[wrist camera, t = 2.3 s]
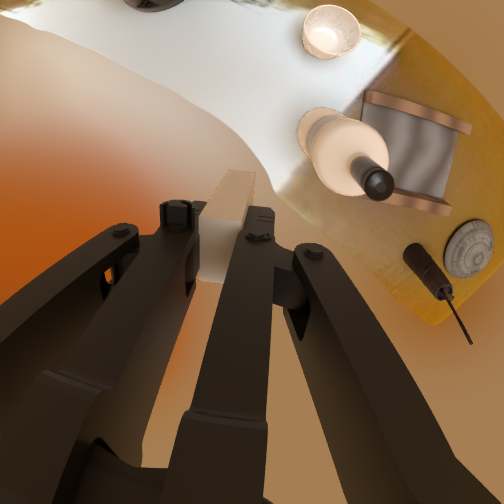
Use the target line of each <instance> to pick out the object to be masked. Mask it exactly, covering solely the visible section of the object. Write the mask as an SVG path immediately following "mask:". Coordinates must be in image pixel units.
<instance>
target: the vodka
mask: <svg viewBox="0 0 504 504" xmlns="http://www.w3.org/2000/svg"><path fill="white" fill-rule="evenodd" d="M297 138H298V142H299V144H300V147H301V148H302V150H303V151H304V152H305V153H306V154H307V155H308V157H309V158H310V160H311V161H312V164H313V167H314V169H315V171H316V173H317V176H318V177H319V179H320V180H321V182H322V183H323V184H324V185H325V186H326V187H327V188H329V189H330V190H332V191H334V192H335V193H338V194H341V195H346V196H360V195H363V194H366V195H367V196H368V197H369V198H370V199H371V200H373V201H379V202H380V201H384V200H386V199H388V198H389V197H390V196H391V195H392V193H393V191H394V188H395V182H394V179H393V176H392V175H391V174H390V173H389V172H388V171H387V170H388V165H389V154H388V150H387V146H386V143H385V141H384V140H383V138H382V136H381V135H380V134H379V133H378V131H377V130H376V129H374V128H373V127H372V126H370V125H369V124H366V123H364V122H361V121H358V120H355V119H351V118H348V117H346V116H344V115H342V114H341V113H340V112H338V111H336V110H333V109H330V108H317V109H314V110H311V111H310V112H308V113H307V114H306V115H305V116H304V117H303V118H302V119H301V121H300V123H299V125H298V129H297Z"/></svg>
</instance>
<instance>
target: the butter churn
mask: <svg viewBox="0 0 504 504" xmlns="http://www.w3.org/2000/svg"><path fill="white" fill-rule="evenodd" d="M403 259H404V261H405V263H406V264H407V265H408V266H409V267H410V268H411V270H412V271H413V272H414V273H415V274H416V275H417V276H418V277H419V279H420V280H421V281H422V282H423V284H424V285H425V286H426V287H427V288H428V289H429V291H430V292H431V293H432V294H433V296H434V297H435V298H436V299H438V300H439V301H442V300H446V301H447V302H448V304H449V306H450V308H451V309H452V311H453V313H454V315H455V316H456V318H457V320H458V322H459V324H460V326H461V328H462V330H463V332H464V334H465V336H466V338H467V340H468V342H469V344H470V345H472V344H473V342H472V340H471V339H470V336H469V334H468V333H467V331H466V329H465V327H464V325H463V323H462V321H461V320H460V318H459V317H458V315H457V313H456V311H455V309H454V307H453V306H452V304H451V302H450V301H452V300H453V299H454V296H453V295H452V294H453V287H452V284H451V283H450V282H449V280H448V279H447V277H446V276H445V275H444V273H443V272H442V270H441V269H440V268H439V267H438V265H437V264H436V263H435V262H434V260H433V259H432V257H431V256H430V255H429V254H428V253H427V252H426V250H425V249H424V248H423V246H422V245H420V244H419V243H414V244H411V245H409V246H408V247H407V248H406V250H405V251H404V254H403ZM448 299H449V300H448Z"/></svg>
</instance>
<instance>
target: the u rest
mask: <svg viewBox="0 0 504 504" xmlns="http://www.w3.org/2000/svg"><path fill="white" fill-rule="evenodd" d="M360 121H361V122H364V123H366V124H369V125H370V126H372V127H373V128H374V129H376V130H377V131H378V133H379V134H380V135H381V136H382V138H383V140H384V141H385V143H386V146H387V150H388V154H389V165H388V170H387V171H388V172H389V173H390V174H391V175H392V176H393V179H394V182H395V188H394V191H393V193H392V195H391V196H390V197H389V198H388V199H386V200H384V201H380V202H383V203H389V204H394V205H399V206H404V207H409V208H414V209H418V210H423V211H428V212H432V213H437V214H441V215H445V216H449V215H450V212H451V208H452V206H451V205H449V204H448V203H447V202H446V201H444V200H443V199H442V197H443V194H444V190H445V187H446V183H447V179H448V175H449V171H450V167H451V163H452V159H453V155H454V150H455V146H456V141H457V136H458V132H461V133H464V134H467V135H470V134H471V128H472V125H470V124H468V123H466V122H463V121H461V120H459V119H456V118H454V117H451V116H449V115H446V114H444V113H441V112H438V111H436V110H433V109H430V108H427V107H425V106H422V105H419V104H416V103H413V102H410V101H407V100H403V99H400V98H397V97H393V96H390V95H386V94H383V93H379V92H375V91H365V93H364V100H363V107H362V114H361V120H360ZM354 197H356V198H361V199H367V200H371V199H370V198H369V197H368V196H367V195H366V194H363V195H360V196H354ZM378 202H379V201H378Z"/></svg>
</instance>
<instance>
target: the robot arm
mask: <svg viewBox="0 0 504 504" xmlns="http://www.w3.org/2000/svg"><path fill="white" fill-rule="evenodd" d="M124 1H125V2H126V3H127V4H128V5H129V6H131V7H133V8H135V9H137V10H140V11H145V12H157V11H162V10H166V9H169V8H171V7H173V6H175V5H177V4H179V3H181V2H182V1H184V0H124ZM254 183H255V172H246V171H237V170H228V171H227V173H226V174H225V176H224V177H223V179H222V180H221V182H220V183H219V185H218V186H217V188H216V190H215V191H214V193H213V194H212V196H211V198H210V199H209V201H208V202H203V201H193V202H190V201H187V200H170V201H166V202H163V203H162V204H160V225H161V226H160V227H159V228H158V230H157V231H156V232H155V233H154V234H153V235H139V230H138V227H137V226H135V225H133V224H127V223H119V224H117V225H113V226H111V227H109V228H108V229H106V230H104V231H103V232H101V233H100V234H98V235H96V236H95V237H93V238H92V239H90V240H89V241H87V242H86V243H84V244H83V245H82V246H80V247H78V248H77V249H75V250H74V251H72V252H71V253H69V254H68V255H67V256H65V257H64V258H62V259H61V260H59V261H58V262H57V263H55V264H54V265H52V266H51V267H50V268H48V269H47V270H45V271H44V272H43V273H41V274H40V275H39V276H37V277H36V278H35V279H33V280H32V281H31V282H29V283H28V284H27V285H25V286H24V287H23V288H21V289H20V290H19V291H18V292H16V293H15V294H14V295H13V296H11V297H10V298H9V299H8V300H6V301H5V302H4V303H3V304H1V305H0V504H273V503H272V502H270V501H269V500H268V499H266V498H264V497H263V490H264V478H265V464H266V452H267V436H268V424H267V422H266V404H267V390H268V389H267V388H268V374H269V358H270V341H271V340H270V339H271V322H272V303H273V304H276V305H279V306H282V307H283V314H284V317H285V320H286V323H287V326H288V329H289V331H290V334H291V337H292V340H293V343H294V346H295V349H296V352H297V355H298V358H299V361H300V363H301V366H302V369H303V372H304V375H305V378H306V381H307V384H308V387H309V390H310V393H311V396H312V399H313V402H314V405H315V408H316V411H317V414H318V417H319V420H320V422H321V425H322V429H323V432H324V435H325V438H326V441H327V444H328V447H329V450H330V453H331V456H332V459H333V462H334V465H335V468H336V471H337V474H338V477H339V480H340V483H341V486H342V489H343V492H344V495H345V498H346V500H347V502H348V504H501V502H500V501H499V500H498V499H497V498H496V497H495V496H494V495H492V494H491V493H490V492H489V491H488V490H487V488H485V487H484V485H483V484H482V483H481V482H480V481H478V479H477V478H475V476H474V475H472V473H471V472H470V471H468V470H467V469H466V468H465V466H463V464H462V463H461V462H460V461H459V460H458V459H457V458H456V457H455V456H454V454H453V452H452V449H451V447H450V446H449V443H448V442H447V440H446V438H445V436H444V434H443V432H442V430H441V428H440V426H439V424H438V422H437V421H436V418H435V417H434V415H433V413H432V411H431V409H430V408H429V406H428V404H427V402H426V400H425V398H424V397H423V395H422V393H421V391H420V390H419V388H418V386H417V384H416V382H415V381H414V379H413V377H412V376H411V374H410V372H409V370H408V369H407V367H406V365H405V364H404V362H403V360H402V359H401V357H400V356H399V354H398V352H397V351H396V349H395V347H394V346H393V344H392V343H391V341H390V339H389V338H388V336H387V334H386V333H385V331H384V330H383V328H382V326H381V325H380V323H379V322H378V320H377V319H376V317H375V315H374V314H373V312H372V311H371V310H370V308H369V306H368V305H367V303H366V302H365V300H364V299H363V297H362V296H361V294H360V293H359V291H358V290H357V288H356V287H355V286H354V284H353V282H352V281H351V280H350V278H349V276H348V275H347V274H346V272H345V271H344V269H343V268H342V266H341V265H340V263H339V262H338V261H337V259H336V258H335V256H334V255H333V254H332V252H331V251H330V250H328V249H327V248H325V247H323V246H322V245H319V244H316V243H303V244H300V245H297V246H296V248H295V250H294V251H290V250H288V249H285V248H283V247H281V246H279V245H278V244H277V243H276V242H275V237H274V221H275V213H274V211H273V210H272V209H271V208H267V207H259V206H252V204H253V193H254ZM109 268H110V272H111V277H112V279H111V280H110V281H109V282H107V281H106V278H105V274H104V272H105V271H107V270H108V269H109ZM198 270H199V281H204V282H212V283H219V284H223V288H222V291H221V295H220V298H219V302H218V306H217V309H216V313H215V316H214V320H213V324H212V328H211V331H210V335H209V339H208V342H207V346H206V350H205V354H204V357H203V361H202V365H201V369H200V373H199V376H198V380H197V384H196V388H195V392H194V396H193V400H192V403H191V406H190V408H189V410H187V411H185V412H184V414H183V416H182V418H181V421H180V424H179V427H178V431H177V435H176V439H175V443H174V447H173V450H172V455H171V458H170V462H169V466H168V468H142V467H141V463H142V441H143V437H144V433H145V430H146V427H147V424H148V421H149V418H150V415H151V412H152V409H153V406H154V403H155V400H156V397H157V394H158V391H159V388H160V385H161V382H162V379H163V376H164V374H165V371H166V368H167V365H168V362H169V359H170V356H171V354H172V351H173V348H174V345H175V342H176V340H177V337H178V334H179V332H180V329H181V326H182V324H183V321H184V318H185V315H186V312H187V310H188V307H189V305H190V302H191V299H192V297H193V294H194V291H195V289H196V275H197V273H198Z"/></svg>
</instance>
